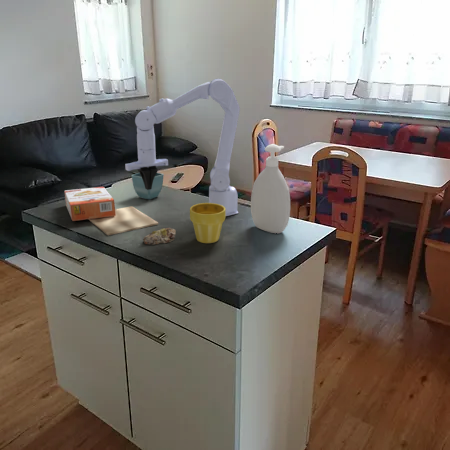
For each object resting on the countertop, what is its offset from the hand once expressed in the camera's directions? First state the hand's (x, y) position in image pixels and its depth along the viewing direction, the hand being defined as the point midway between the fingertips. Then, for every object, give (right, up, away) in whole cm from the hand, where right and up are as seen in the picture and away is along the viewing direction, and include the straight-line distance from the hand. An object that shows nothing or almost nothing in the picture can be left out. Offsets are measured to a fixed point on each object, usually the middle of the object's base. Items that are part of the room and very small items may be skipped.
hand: (148, 188), depth 153 cm
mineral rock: (+6, -17, -17) cm, 25 cm away
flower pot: (-3, -2, +21) cm, 21 cm away
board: (-8, -11, -3) cm, 14 cm away
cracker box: (-16, -7, -6) cm, 19 cm away
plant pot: (+21, -17, -17) cm, 31 cm away
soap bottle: (+40, -14, -8) cm, 43 cm away
